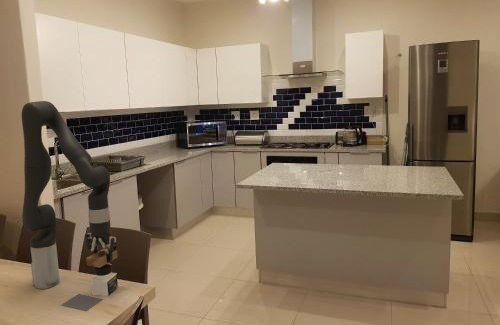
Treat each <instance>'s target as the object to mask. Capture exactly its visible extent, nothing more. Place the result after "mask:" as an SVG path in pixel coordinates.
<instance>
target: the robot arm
mask: <svg viewBox="0 0 500 325" xmlns="http://www.w3.org/2000/svg"><path fill="white" fill-rule="evenodd" d="M21 124H22V132H23V142H24V143H23V145H24V160H23V161H24V162H23V164H24V165H23V167H24V170H23V171H24V172H23V173H24V195H23V206H22V218H21V219H22V224H23V227H24V229H25V230H26V231H28V232H36V231H38V232H37V233H36V234H35V235H34V236H32V237H31V239H30V240H29V244H30V254H31V255H30V256H31V263H30V268H31V276H32V284H33V286H34V287H35V288H36V289H38V290H40V289H41V290H44V289H50V288H52V287H55V286H57V285H58V284H60V280H61V279H60V270H59V269H60V268H59V261H58V260H59V259H58V249H57V217H56V216H57V215H56V211H55V209H54V207H53V206H52V205H50V204H48V203H46V204H45V203H44V204H40V205H39V201H40V198H41V195H42V194H43V192H44V190H45V189H46V187H47V185H48V184H49V182H50V179H51V177H52V158H51V155H50V153H49V152H48V150H47V149H46V147H45V145H44V143H43V135H42V134H43V133H42V132H43V129H42V128H43V127H45V126H48V127H49V129H51V130H52V131H53V132H54V134H55V136H56V137H57V140H58V144H59V147H60V150H61V153H62V154H63V156H64V157H65V158H66V160H68V162H69V163H70V164H71V165H72V166H73V168H74V169H75V171H76V174H77V176H78V177H79V179H80V181H81V182H82V183H83V185H85V187H88V188H89V189H92V191H91V192H90V193H89V194H88V196H87V204H88V224H89V232H87V233H86V234H85V235H84V239H85V244H86V248H87V250H90V251H91V255H93V254H95V253H97V252H99V247H100V246H102V249H105V251H106V253H107V254H106V256H107V263H110V264H111V262H112V261H114V260H113V257H112V253H113V252H115V251H116V250H117V249H118V237H117V236H112V234H111V229H112V228H111V214H110V209H109V208H110V207H109V198H108V195H109V191H110V184H111V175H110V172H109V170H108V168H106V167H105V166H101V165H98V166H95V167H93V166H92V164H91V162H92V159H93V158H92V156H91V154H90V153H89V152H88V151H87V150H86V149H85V147H83V145H82V144H81V143H80V142H79V140H78V139H77V138H76V137H75V135H74V134H73V132H72V131H71V130H70V128H69V126H68V124H67V123H66V121H65V120H64V118H63V117H62V115H61V113H60V111H59V109H57V107H56V106H55V105H54V104H53V103H52V102H50V101H48V100H40V101H31V102H27V103H25V104H24V105H23V106H22V109H21ZM108 249H109V250H108ZM117 251H118V250H117Z"/></svg>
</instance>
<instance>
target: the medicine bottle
mask: <svg viewBox="0 0 500 325" xmlns="http://www.w3.org/2000/svg"><path fill="white" fill-rule="evenodd" d="M112 265H113V264H111V262H110V263H107V264H105V265H104V266H102V267H100V268H99V267H94V271H95V276H94V277H93V278H91V279H90V283H91V295H95V296H103V297H109V296H110V295H112V294H113V293H114V292H115V291H116V290H117V289H118V288H119V287H118V273H117V272H113V268H112Z"/></svg>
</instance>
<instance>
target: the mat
mask: <svg viewBox="0 0 500 325" xmlns="http://www.w3.org/2000/svg"><path fill="white" fill-rule="evenodd" d="M103 300H104V298H99V297H95V296H90V295H86V294H81V293H78V294H76V295H75V296H73V297H70V299H68V300H66V301H65V302H63V303H61V304H60V306H62V307H66V308H70V309H74V310H79V311H82V312H88V311H89V310H90V309H92V308H93V307H95V306H96V305H97V304H99V303H101V302H102V301H103Z"/></svg>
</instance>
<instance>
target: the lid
mask: <svg viewBox="0 0 500 325" xmlns="http://www.w3.org/2000/svg"><path fill="white" fill-rule="evenodd" d="M108 250H109V248H108ZM106 254H107V253H106V251H105V249H103V248H102V249H101V250H98V252H97V253H95V254H93V255H92V254H91V255H89V256H87V257H86V265H87V266H88V267H94V268H95V267H99V268H100V267H102V266H104V265H105V264H107V256H106ZM112 257H113V260H112V261H114V260H115V259H117V258H118V250H116V251H115V252H113V253H112Z"/></svg>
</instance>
